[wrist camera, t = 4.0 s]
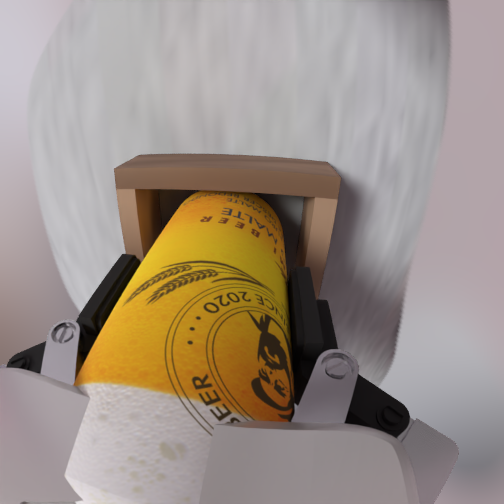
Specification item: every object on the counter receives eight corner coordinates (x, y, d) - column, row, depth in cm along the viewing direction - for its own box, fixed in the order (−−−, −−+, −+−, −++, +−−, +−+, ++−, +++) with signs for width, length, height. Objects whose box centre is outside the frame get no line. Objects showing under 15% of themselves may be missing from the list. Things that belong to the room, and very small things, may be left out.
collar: (139, 154, 14) (114, 168, 12) (327, 162, 14) (341, 177, 11) (157, 300, 19) (143, 330, 17) (302, 311, 19) (306, 344, 16)
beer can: (303, 243, 16) (341, 558, 3) (222, 292, 18) (176, 546, 5) (236, 157, 14) (93, 567, 1) (154, 223, 16) (9, 485, 3)
